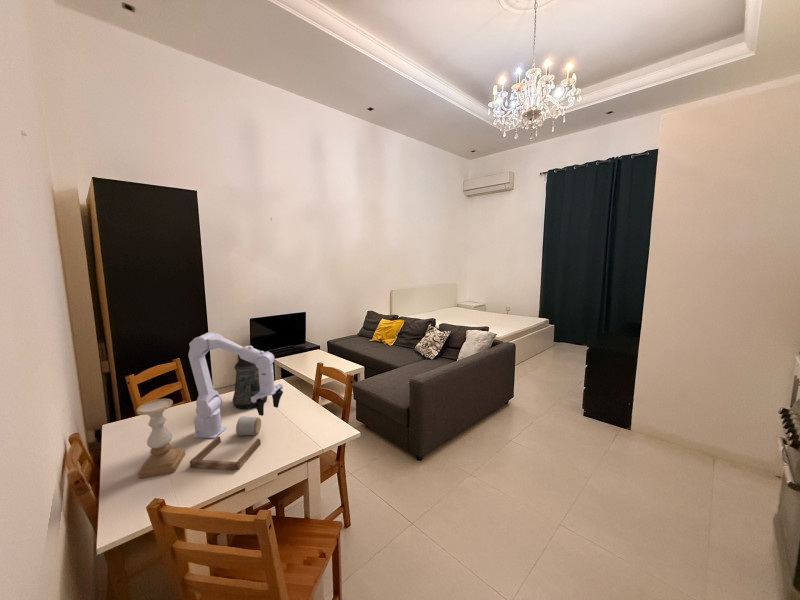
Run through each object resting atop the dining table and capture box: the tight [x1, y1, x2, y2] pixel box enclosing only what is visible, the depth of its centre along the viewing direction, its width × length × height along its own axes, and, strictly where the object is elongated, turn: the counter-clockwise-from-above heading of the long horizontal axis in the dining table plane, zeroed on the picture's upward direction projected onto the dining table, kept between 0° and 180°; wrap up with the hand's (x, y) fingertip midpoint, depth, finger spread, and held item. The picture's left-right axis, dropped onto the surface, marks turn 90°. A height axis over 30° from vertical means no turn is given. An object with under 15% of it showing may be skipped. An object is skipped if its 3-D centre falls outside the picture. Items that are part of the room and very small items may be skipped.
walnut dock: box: [189, 436, 262, 471], centre depth 119 cm, size 18×15×2 cm
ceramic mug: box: [235, 415, 262, 436], centre depth 135 cm, size 11×8×8 cm
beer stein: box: [231, 358, 268, 411], centre depth 160 cm, size 16×19×25 cm
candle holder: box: [136, 398, 186, 479], centre depth 112 cm, size 11×11×24 cm
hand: (268, 410), depth 133 cm, fingers open, 7 cm apart
